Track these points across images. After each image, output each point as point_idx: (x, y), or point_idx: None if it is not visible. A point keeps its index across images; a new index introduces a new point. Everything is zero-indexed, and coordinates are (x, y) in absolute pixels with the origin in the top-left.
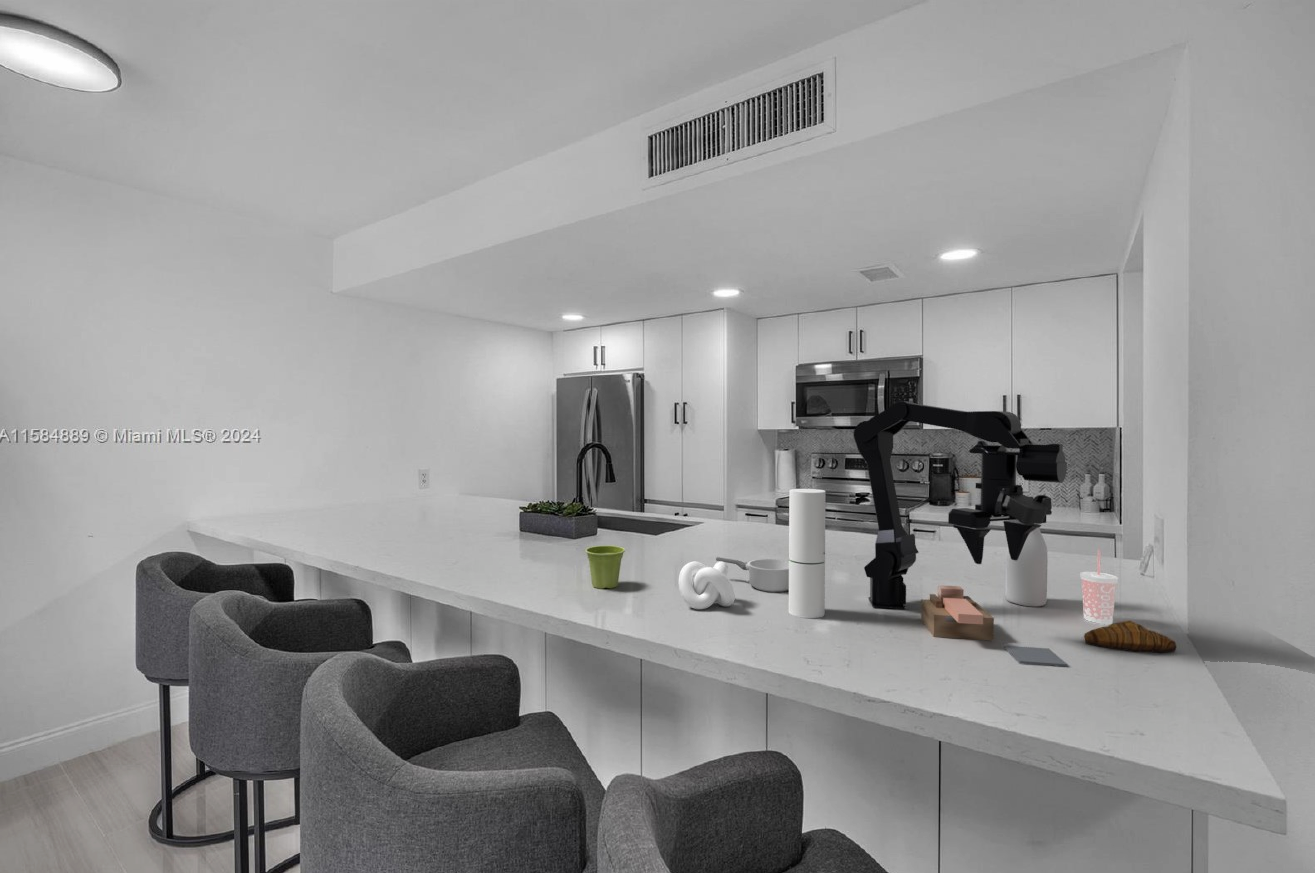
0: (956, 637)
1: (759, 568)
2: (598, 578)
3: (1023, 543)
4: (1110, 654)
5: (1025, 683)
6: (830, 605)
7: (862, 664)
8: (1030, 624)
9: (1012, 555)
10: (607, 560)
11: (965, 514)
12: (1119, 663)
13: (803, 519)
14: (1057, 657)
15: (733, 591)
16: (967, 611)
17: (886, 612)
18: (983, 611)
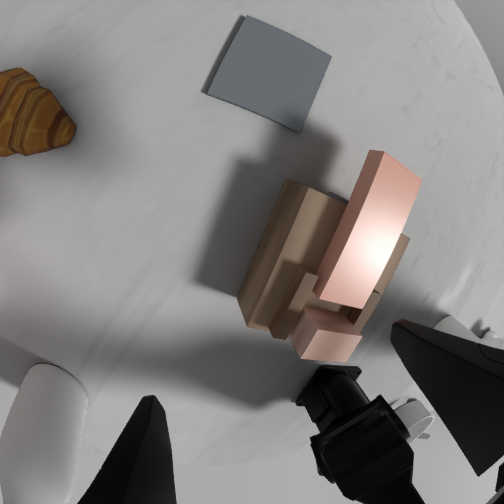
0: None
1: (434, 416)
2: None
3: (108, 469)
4: (82, 66)
5: (373, 9)
6: (398, 369)
7: (489, 153)
8: (110, 275)
9: (162, 423)
10: None
11: None
12: (114, 21)
13: None
14: (235, 45)
15: (488, 344)
16: (395, 190)
17: (357, 350)
18: (290, 248)
